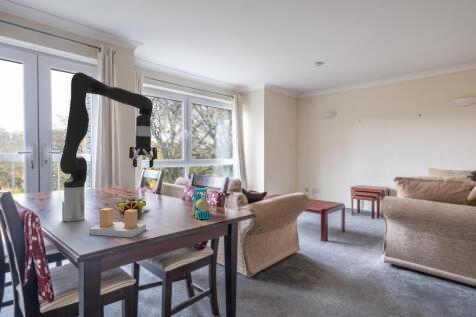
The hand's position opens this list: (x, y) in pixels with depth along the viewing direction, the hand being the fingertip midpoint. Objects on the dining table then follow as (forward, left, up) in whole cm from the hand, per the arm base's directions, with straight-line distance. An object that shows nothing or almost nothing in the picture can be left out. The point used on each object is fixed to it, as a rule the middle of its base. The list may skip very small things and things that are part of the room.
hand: (143, 167), depth 140 cm
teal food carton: (+26, +18, -28) cm, 43 cm away
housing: (-2, -18, -28) cm, 33 cm away
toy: (-17, +18, -28) cm, 37 cm away
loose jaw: (+4, -18, -28) cm, 34 cm away
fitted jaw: (-8, -18, -28) cm, 34 cm away
